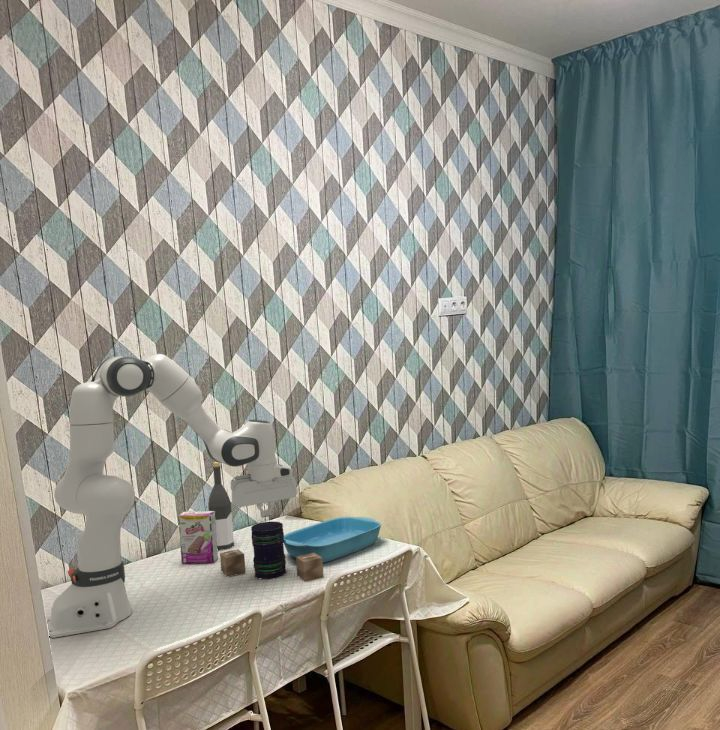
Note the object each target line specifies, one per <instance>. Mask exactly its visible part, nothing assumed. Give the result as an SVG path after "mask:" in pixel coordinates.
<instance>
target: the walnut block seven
mask: <svg viewBox="0 0 720 730" xmlns="http://www.w3.org/2000/svg"><path fill="white" fill-rule="evenodd" d="M219 558H220V559H219V561H220V571H222V572H223V573H224V574H225V575H226V576H225V575H224V574H223V573H222V572H221V573H222V574H223V575H224V576H225V577H227V576H229V577H232V576H231V575H233V576H236V575H235V574H237V575H241V573H242V574H245V573H244V572H246V561H245V560H246V559H245V553H243V552H242V551H241V550H240V548H239V549H238V548H237V549H233V550H232V549H231V550H228V551H224V552H219Z"/></svg>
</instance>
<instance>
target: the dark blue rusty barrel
mask: <svg viewBox="0 0 720 730" xmlns="http://www.w3.org/2000/svg"><path fill="white" fill-rule="evenodd" d="M283 528H284V524H283V523H282V522H280V521H264V522H259V523H258V522H257V523H255V524H253V525H252V526H251V527H250V530H251V544H252V548H253V560H252V561H253V569H254V570H253V571H254V577H255V578H256V577H257V578H256V579H258V578H261V579H260V580H274V579H273V578H275V579H278V577H279V578H281V577H284V576H285V575H286V574H287V569H286V568H287V567H286V566H287V565H286V564H287V561H286V554H285V545H284V535H285V533H284V529H283ZM285 573H286V574H285ZM284 574H285V575H284Z"/></svg>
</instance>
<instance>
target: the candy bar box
mask: <svg viewBox="0 0 720 730" xmlns="http://www.w3.org/2000/svg"><path fill="white" fill-rule="evenodd" d="M177 518H178V530H179V531H178V533H179V542H180V556H181V564H182V565H186V563H188V564H190V563H195V564H214V563H215V562H216V561H217V560H218V559H219V552H218V551H219V550H217V536H216V522H215V511H209V510H206V511H205V510H204V511H203V510H202V511H183V512H181V513H180V514H179V515H178V517H177ZM188 564H187V565H188ZM190 565H191V564H190Z"/></svg>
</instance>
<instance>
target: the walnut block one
mask: <svg viewBox="0 0 720 730" xmlns="http://www.w3.org/2000/svg"><path fill="white" fill-rule="evenodd" d="M295 563H296V575H297V577H298V576H299V577H300V579H301V580H302V579H303V580H302V581H304V582H305V583H306V582H311V581H314V580H318V579H321V578H324V565H323V564H324V563H323V562H322V557H320V556H319V555H317V554H315V553H310V554H306V555H301V556H297V557H296V558H295ZM299 577H298V578H299Z"/></svg>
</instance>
